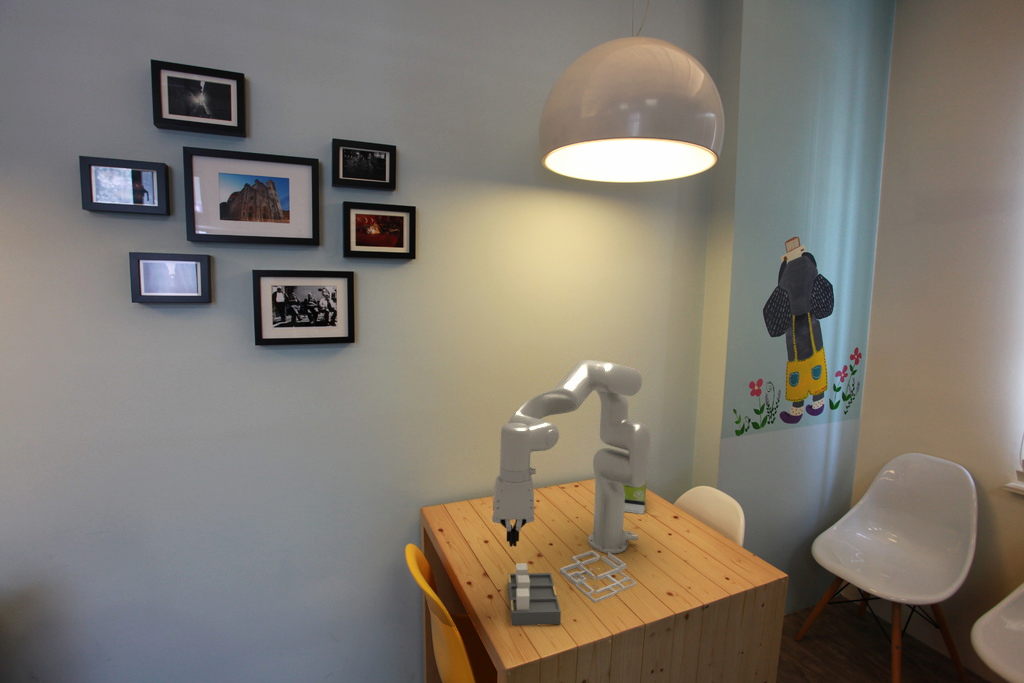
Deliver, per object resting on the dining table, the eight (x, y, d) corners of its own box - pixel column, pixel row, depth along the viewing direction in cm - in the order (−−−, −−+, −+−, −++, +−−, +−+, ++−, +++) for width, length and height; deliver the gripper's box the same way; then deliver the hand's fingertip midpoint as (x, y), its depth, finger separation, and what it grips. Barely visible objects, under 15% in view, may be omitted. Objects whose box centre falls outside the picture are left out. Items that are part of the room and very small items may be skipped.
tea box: (604, 510, 175) (605, 472, 174) (604, 499, 185) (606, 463, 184) (644, 515, 172) (646, 476, 171) (643, 503, 182) (645, 467, 180)
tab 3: (527, 603, 116) (528, 588, 115) (529, 611, 113) (529, 596, 112) (515, 603, 115) (516, 588, 115) (516, 611, 112) (517, 596, 112)
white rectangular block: (526, 577, 126) (526, 563, 126) (527, 583, 124) (527, 569, 123) (515, 577, 126) (515, 563, 126) (516, 584, 123) (516, 569, 123)
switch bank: (550, 584, 128) (551, 572, 128) (560, 624, 112) (560, 610, 112) (507, 584, 127) (508, 572, 127) (511, 625, 112) (511, 611, 111)
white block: (528, 589, 121) (528, 575, 121) (529, 597, 118) (529, 582, 118) (517, 589, 121) (517, 575, 120) (517, 597, 118) (518, 582, 117)
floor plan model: (587, 543, 152) (587, 537, 152) (645, 584, 130) (645, 577, 130) (540, 558, 142) (541, 552, 142) (594, 604, 121) (595, 597, 121)
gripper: (541, 467, 119) (539, 535, 120) (484, 468, 117) (482, 536, 119) (546, 478, 111) (544, 551, 113) (485, 479, 110) (483, 552, 112)
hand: (512, 543), depth 116 cm, fingers closed
